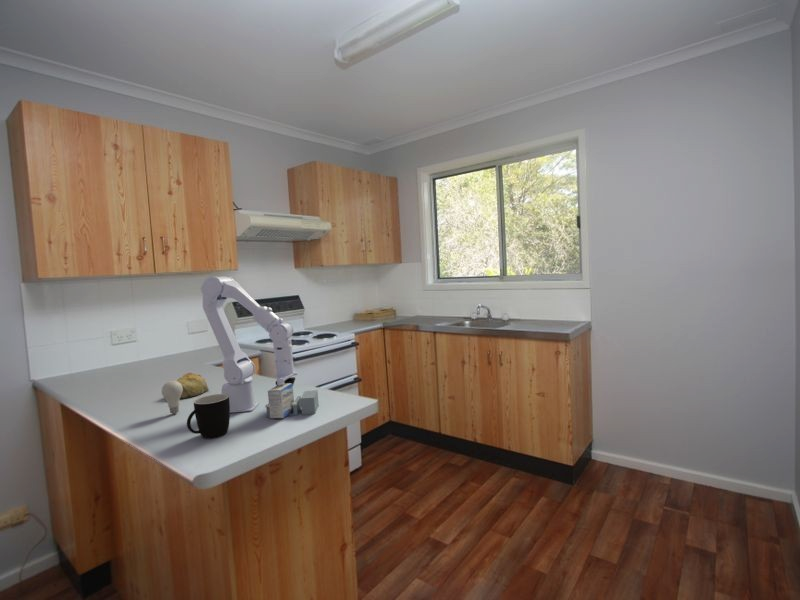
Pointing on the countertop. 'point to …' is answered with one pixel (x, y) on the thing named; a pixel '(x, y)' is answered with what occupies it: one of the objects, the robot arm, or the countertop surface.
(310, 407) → the dispenser
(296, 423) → the countertop surface
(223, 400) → the mug
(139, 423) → the countertop surface
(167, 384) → the lightbulb
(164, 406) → the countertop surface
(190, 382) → the pastry
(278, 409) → the medicine box
